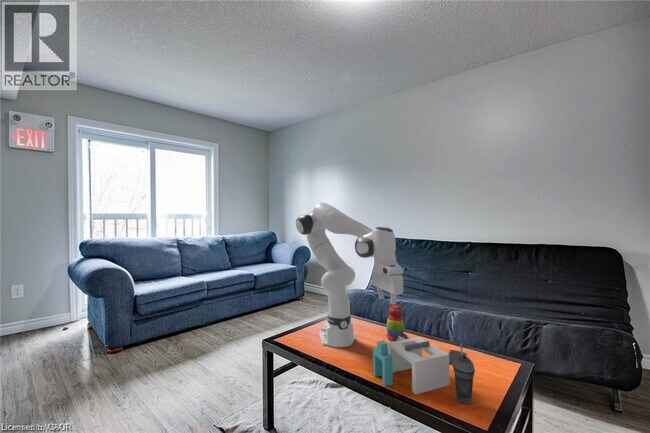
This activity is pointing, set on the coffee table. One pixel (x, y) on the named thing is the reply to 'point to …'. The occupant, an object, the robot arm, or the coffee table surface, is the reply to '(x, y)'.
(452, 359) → the smartphone
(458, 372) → the beverage cup
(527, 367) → the coffee table surface
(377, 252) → the robot arm
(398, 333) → the stacking bear
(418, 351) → the shelf
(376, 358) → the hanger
